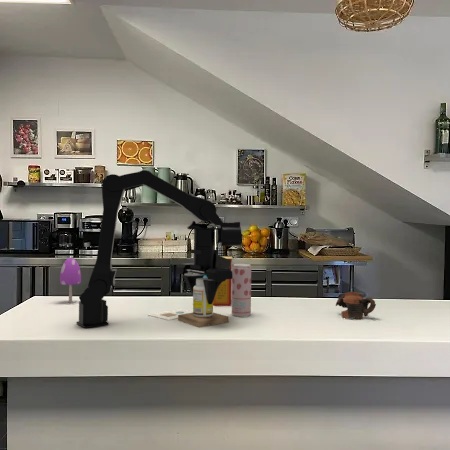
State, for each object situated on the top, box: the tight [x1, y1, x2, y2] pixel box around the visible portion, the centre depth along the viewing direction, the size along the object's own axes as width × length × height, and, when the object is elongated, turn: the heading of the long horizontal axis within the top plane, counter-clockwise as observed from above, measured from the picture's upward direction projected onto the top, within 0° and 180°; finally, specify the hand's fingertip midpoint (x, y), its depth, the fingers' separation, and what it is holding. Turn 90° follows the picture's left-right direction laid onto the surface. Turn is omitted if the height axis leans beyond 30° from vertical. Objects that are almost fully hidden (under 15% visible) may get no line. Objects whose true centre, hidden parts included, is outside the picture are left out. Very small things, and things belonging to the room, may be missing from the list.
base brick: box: [177, 311, 230, 328], centre depth 118 cm, size 10×10×2 cm
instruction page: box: [147, 308, 193, 321], centre depth 126 cm, size 12×9×1 cm
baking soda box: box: [213, 255, 233, 307], centre depth 146 cm, size 10×6×16 cm
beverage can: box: [231, 263, 252, 318], centre depth 127 cm, size 6×6×15 cm
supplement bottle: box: [192, 277, 214, 317], centre depth 118 cm, size 6×6×10 cm
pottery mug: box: [335, 291, 377, 320], centre depth 127 cm, size 12×10×8 cm
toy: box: [59, 257, 82, 304], centre depth 143 cm, size 7×7×15 cm
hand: (203, 302), depth 118 cm, fingers open, 6 cm apart
